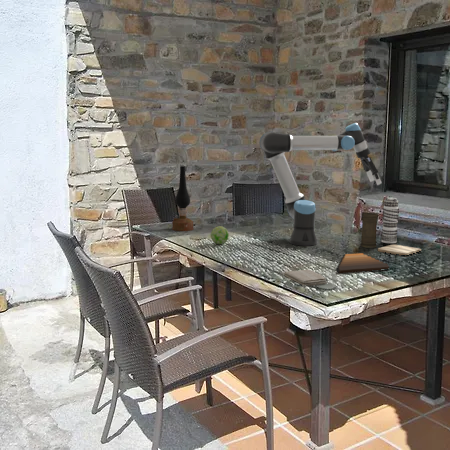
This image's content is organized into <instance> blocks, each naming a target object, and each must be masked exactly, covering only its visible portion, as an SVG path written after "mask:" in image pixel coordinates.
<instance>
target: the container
mask: <svg viewBox="0 0 450 450" xmlns="http://www.w3.org/2000/svg"><path fill="white" fill-rule="evenodd" d="M361 216H362V217H361V218H362V225H361V236H360V244H359V245H360V247H361V248H364V249H365V248H366V249H374V248H377V246H378V245H377V243H378V242H377V226H378V225H377V224H378V217H379V215H378V213H373V212H363V213H361Z"/></svg>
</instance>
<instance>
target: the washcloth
mask: <svg viewBox="0 0 450 450" xmlns="http://www.w3.org/2000/svg"><path fill="white" fill-rule="evenodd" d="M284 277H286V278H288V279H290V280H292V281H295V282H296V283H298V284H300V285H302V287H303V286H304V287H305V286H316V285H326V284H327V283H328V281H327V278H326V277H325V276H323V275H322V274H321V273H318V272H316V271H314V270H312V269H309V268H308V269H301V270H293V271H286V272H284Z"/></svg>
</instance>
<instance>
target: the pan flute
mask: <svg viewBox="0 0 450 450" xmlns="http://www.w3.org/2000/svg"><path fill="white" fill-rule="evenodd" d="M389 268H390V266H389V265H388V263H387V262H386V263H384V261H380V260H379V259H376V258H375V257H372V256H371V255H369V256H368V254H364V253H363V252H361V253H359V252H358V253H346V254H344V255H342V257H341V259H340V261H339V263H338V264H337V267H336V268H335V272H336V273H337V274H348V273H349V274H350V273H363V272H362V271H366V272H373V271H372V270H380V271H382V270H381V269H388V270H389Z"/></svg>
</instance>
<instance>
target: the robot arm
mask: <svg viewBox="0 0 450 450" xmlns="http://www.w3.org/2000/svg"><path fill="white" fill-rule="evenodd" d="M259 147H260V149H261V150H262V151H263V154H264V157H265V158H266V159H265V160H268V161H270V163H271V165H272V168H273V170H274V174H275V176H276V178H277V180H278V182H279V185H280V188H281V189H282V192H283V194H284V195H283V196H285V200H284V203H285V206H286V209H287V210H286V211H287V213H288V215H289V217H290V218H291V219H293V229H292V232H291V236H290V238H289V243H290V244H291V245H296V246H306V247H307V246H309V247H310V246H315V245H318V238H317V235H316V230H315V227H316V226H315V225H316V210H317V209H316V203H315V202H314V201H312V200H307V199H306V197H305V195H304V193H301V192H300V189H299V187H298V185H297V182H296V180H295V178H294V175H293V173H292V170H291V167H290V165H289V163H288V160H287V158H286V155H285V153H290V152H291V151H308V150H309V151H315V150H316V151H317V150H321V151H322V150H323V151H324V150H326V151H327V150H328V151H332V152H336V151H339V150H342V151H343V150H345V151H348V150H352V149H353V150H354V151H355V154H356V157H357V159H360V161H361V164H362V167H363V170H364V172H365V173H366V175H367V178H368V180H369V182H370V183H372V182H374V181H375V183H376V186H380V185H381V184H383V183H382V180H381V177H380V176H379V175H380V174H379V171H378V169H377V167H376V165H375V163H374V161H373V160H372V158H371V156H369V155H370V154H371V151H370V149H369V147H368V142H367V140H366V139H365V136H364V135H363V132H362V129H361V128H360V125H359V124H358V123H357V122H354V123H351V124H349V125H347V126H346V127H345V131H344V132H342V133H340V134H338V135H291V133H279V132H275V131H267V132H265V133H263V134H262V136H261V137H260V139H259Z"/></svg>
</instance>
